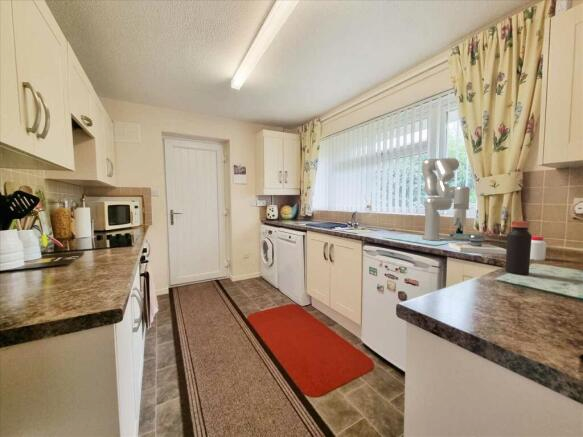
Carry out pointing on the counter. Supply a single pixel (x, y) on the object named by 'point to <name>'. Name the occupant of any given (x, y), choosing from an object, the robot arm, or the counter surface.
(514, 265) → the vinegar
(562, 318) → the counter surface
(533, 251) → the pill bottle
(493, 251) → the plate
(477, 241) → the grey elongated shape
